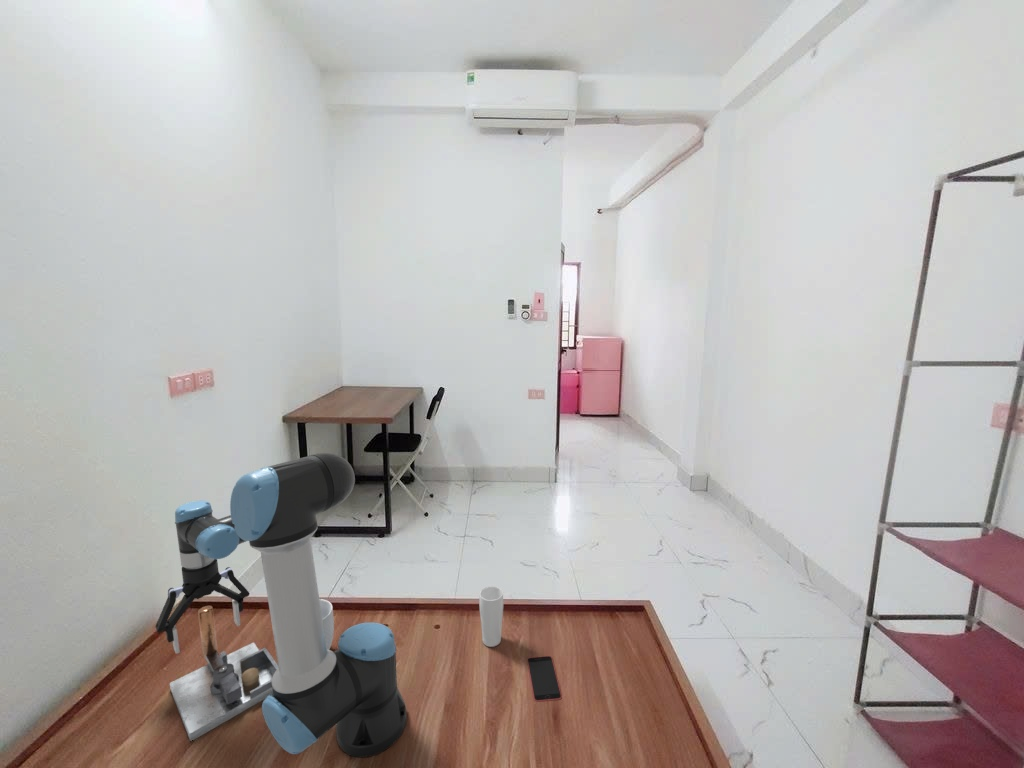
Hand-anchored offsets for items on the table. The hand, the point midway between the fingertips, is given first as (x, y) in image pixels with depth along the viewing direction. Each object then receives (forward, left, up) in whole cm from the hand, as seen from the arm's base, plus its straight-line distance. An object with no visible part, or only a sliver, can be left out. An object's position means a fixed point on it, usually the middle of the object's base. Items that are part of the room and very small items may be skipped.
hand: (208, 636), depth 118 cm
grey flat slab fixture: (-12, 0, -9) cm, 15 cm away
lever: (-9, 0, -6) cm, 11 cm away
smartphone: (-67, -57, -9) cm, 89 cm away
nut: (-17, -4, -7) cm, 19 cm away
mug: (-17, -20, -9) cm, 28 cm away
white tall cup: (-48, -57, -9) cm, 75 cm away
